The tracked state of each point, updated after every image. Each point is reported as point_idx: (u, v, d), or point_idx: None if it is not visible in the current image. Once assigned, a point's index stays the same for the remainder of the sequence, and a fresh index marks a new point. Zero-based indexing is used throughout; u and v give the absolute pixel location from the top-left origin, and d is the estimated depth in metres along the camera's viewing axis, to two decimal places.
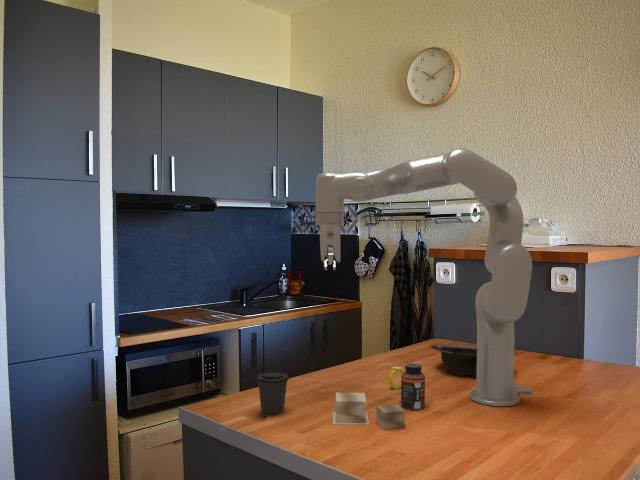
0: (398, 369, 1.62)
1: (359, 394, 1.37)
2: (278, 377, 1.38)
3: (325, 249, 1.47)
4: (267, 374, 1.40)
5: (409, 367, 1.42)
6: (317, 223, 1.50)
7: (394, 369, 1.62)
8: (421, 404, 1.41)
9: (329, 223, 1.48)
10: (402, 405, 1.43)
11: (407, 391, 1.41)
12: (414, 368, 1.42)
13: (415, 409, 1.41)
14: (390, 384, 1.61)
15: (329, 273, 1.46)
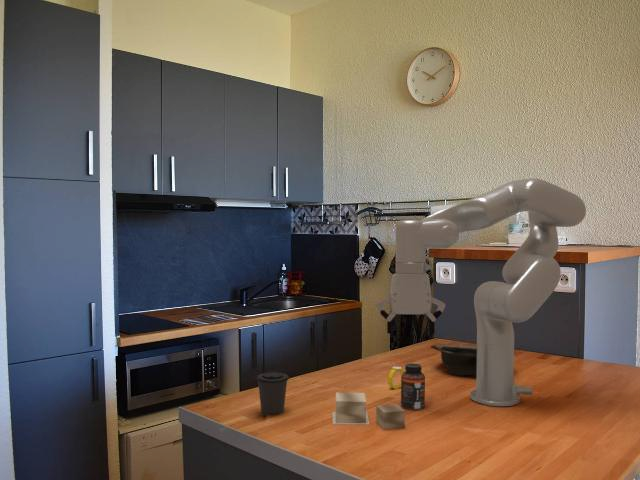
0: (398, 369, 1.62)
1: (359, 394, 1.37)
2: (278, 377, 1.38)
3: (431, 300, 1.42)
4: (267, 374, 1.39)
5: (409, 367, 1.42)
6: (419, 274, 1.40)
7: (394, 369, 1.62)
8: (421, 404, 1.41)
9: (425, 272, 1.43)
10: (402, 405, 1.43)
11: (407, 391, 1.41)
12: (414, 368, 1.42)
13: (415, 409, 1.41)
14: (390, 384, 1.61)
15: None
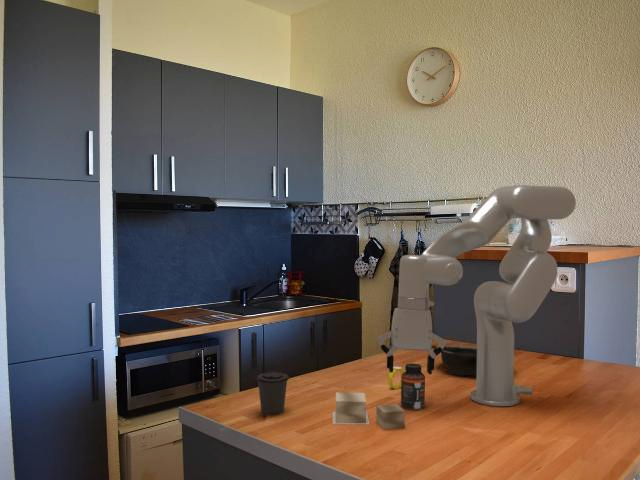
0: (398, 369, 1.62)
1: (359, 394, 1.37)
2: (278, 377, 1.38)
3: (432, 336, 1.42)
4: (267, 374, 1.40)
5: (409, 367, 1.42)
6: (421, 310, 1.40)
7: (394, 369, 1.62)
8: (421, 404, 1.41)
9: None
10: (402, 405, 1.43)
11: (407, 391, 1.41)
12: (414, 368, 1.42)
13: (415, 409, 1.41)
14: (390, 384, 1.61)
15: None
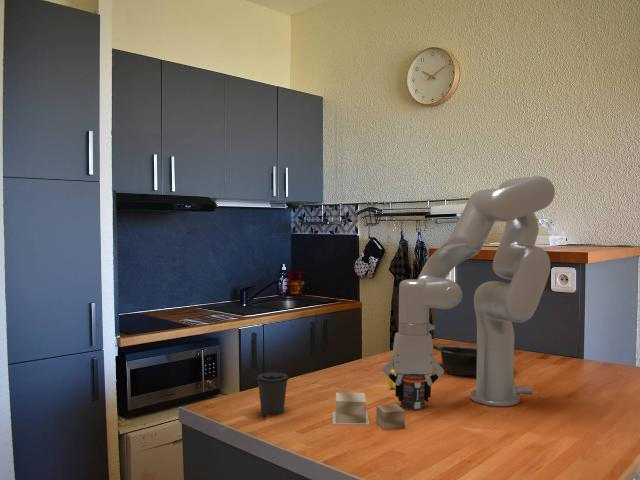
0: None
1: (359, 394, 1.37)
2: (278, 377, 1.38)
3: (434, 360, 1.42)
4: (267, 374, 1.39)
5: None
6: (422, 335, 1.40)
7: None
8: (421, 404, 1.41)
9: (428, 333, 1.43)
10: (402, 405, 1.43)
11: (407, 391, 1.41)
12: None
13: (415, 409, 1.41)
14: (390, 384, 1.61)
15: None
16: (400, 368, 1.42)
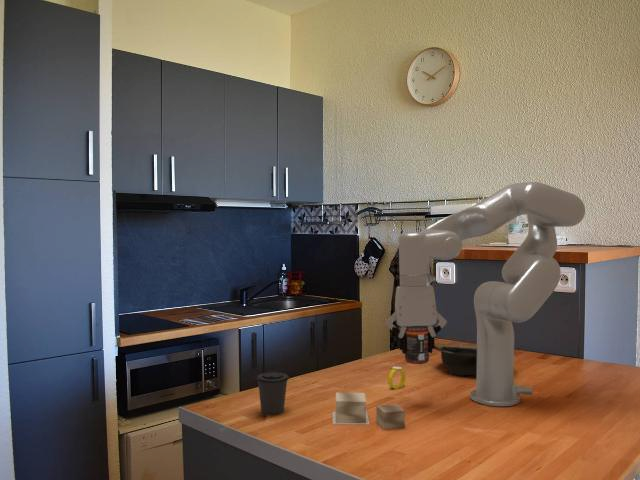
0: (398, 369, 1.62)
1: (359, 394, 1.37)
2: (278, 377, 1.38)
3: (436, 311, 1.42)
4: (267, 374, 1.39)
5: None
6: (424, 286, 1.40)
7: (394, 369, 1.62)
8: (425, 355, 1.41)
9: None
10: (406, 358, 1.43)
11: (411, 343, 1.41)
12: None
13: (419, 361, 1.41)
14: (390, 384, 1.61)
15: None
16: (403, 320, 1.41)
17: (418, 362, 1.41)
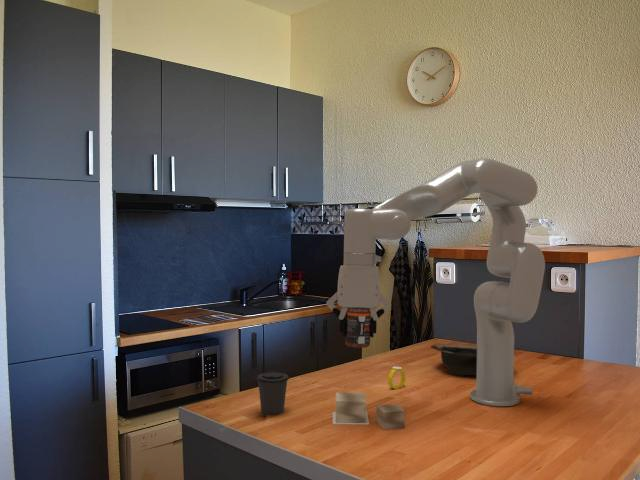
0: (398, 369, 1.62)
1: (359, 394, 1.37)
2: (278, 377, 1.38)
3: (380, 293, 1.34)
4: (267, 374, 1.40)
5: None
6: (367, 265, 1.32)
7: (394, 369, 1.62)
8: (365, 339, 1.33)
9: None
10: (346, 341, 1.35)
11: (351, 325, 1.33)
12: None
13: (359, 344, 1.33)
14: (390, 384, 1.61)
15: None
16: (344, 301, 1.33)
17: (357, 345, 1.33)
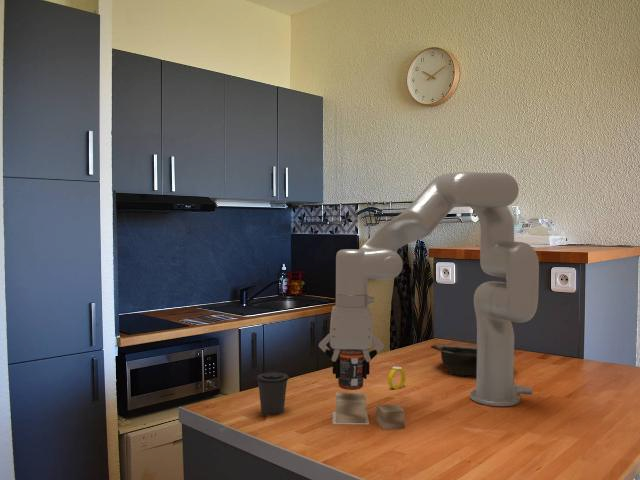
0: (398, 369, 1.62)
1: (359, 394, 1.37)
2: (278, 377, 1.38)
3: (372, 335, 1.33)
4: (267, 374, 1.39)
5: None
6: (359, 307, 1.31)
7: (394, 369, 1.62)
8: (358, 381, 1.33)
9: (367, 306, 1.34)
10: (339, 382, 1.34)
11: (343, 367, 1.33)
12: None
13: (352, 386, 1.32)
14: (390, 384, 1.61)
15: None
16: (336, 343, 1.33)
17: (350, 388, 1.32)
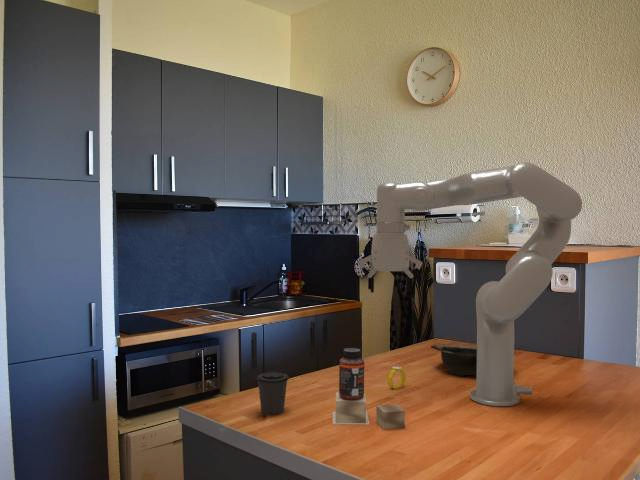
0: (398, 369, 1.62)
1: None
2: (278, 377, 1.38)
3: (409, 258, 1.53)
4: (267, 374, 1.39)
5: (347, 352, 1.34)
6: (398, 233, 1.50)
7: (394, 369, 1.62)
8: (359, 391, 1.33)
9: None
10: (340, 392, 1.34)
11: (344, 377, 1.33)
12: (352, 353, 1.33)
13: (352, 396, 1.32)
14: (390, 384, 1.61)
15: None
16: (377, 264, 1.52)
17: (351, 398, 1.32)
